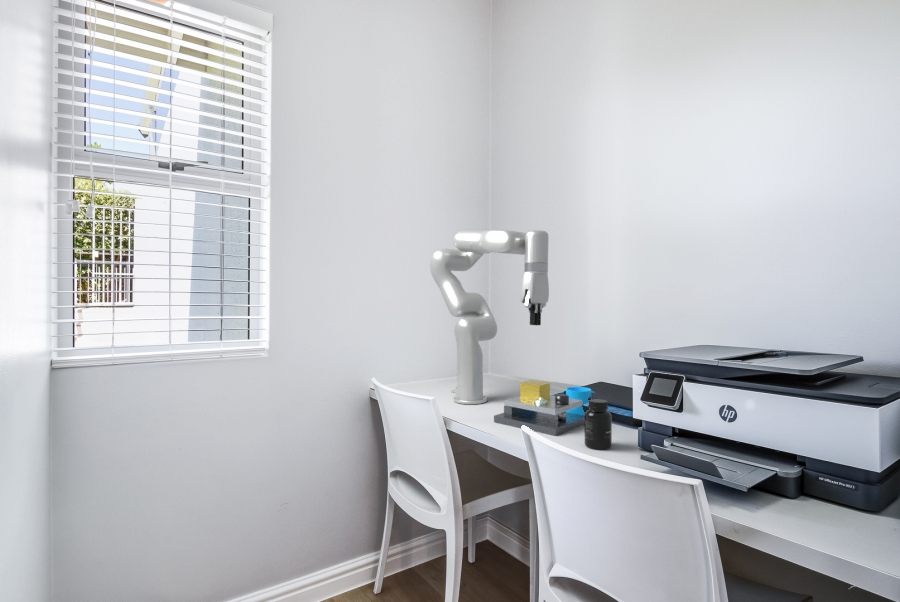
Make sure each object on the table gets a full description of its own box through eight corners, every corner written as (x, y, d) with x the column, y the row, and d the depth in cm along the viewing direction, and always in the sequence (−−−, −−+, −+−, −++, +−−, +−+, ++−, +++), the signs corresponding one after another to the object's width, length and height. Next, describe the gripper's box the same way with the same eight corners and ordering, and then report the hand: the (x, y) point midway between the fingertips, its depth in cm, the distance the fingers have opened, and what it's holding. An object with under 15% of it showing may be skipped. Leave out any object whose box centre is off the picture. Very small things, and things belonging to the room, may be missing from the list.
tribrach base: (493, 422, 151) (493, 406, 151) (528, 411, 165) (528, 396, 165) (555, 435, 136) (555, 418, 136) (587, 422, 150) (587, 406, 150)
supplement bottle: (613, 451, 123) (613, 404, 122) (586, 449, 124) (586, 403, 124) (609, 442, 129) (609, 398, 129) (583, 441, 130) (583, 397, 130)
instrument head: (504, 405, 150) (504, 384, 150) (533, 397, 162) (533, 377, 161) (555, 415, 138) (555, 392, 137) (582, 405, 149) (582, 384, 149)
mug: (575, 417, 156) (575, 392, 156) (561, 411, 164) (561, 387, 164) (606, 414, 160) (606, 389, 160) (590, 408, 168) (590, 385, 168)
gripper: (539, 269, 165) (538, 323, 166) (513, 268, 154) (512, 325, 155) (558, 269, 160) (557, 324, 161) (532, 268, 149) (531, 327, 150)
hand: (535, 324), depth 158 cm, fingers closed
